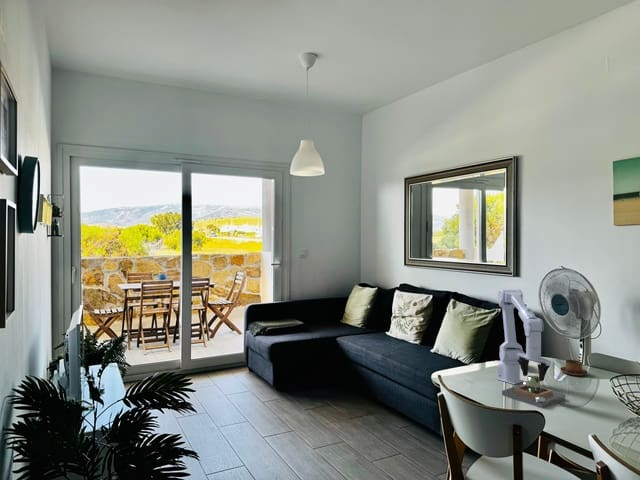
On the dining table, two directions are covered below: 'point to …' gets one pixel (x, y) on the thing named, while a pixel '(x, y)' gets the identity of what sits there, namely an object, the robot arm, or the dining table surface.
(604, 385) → the dining table surface
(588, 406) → the dining table surface
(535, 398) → the grey square slab
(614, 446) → the dining table surface
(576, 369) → the cup and saucer
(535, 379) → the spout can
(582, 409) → the dining table surface
